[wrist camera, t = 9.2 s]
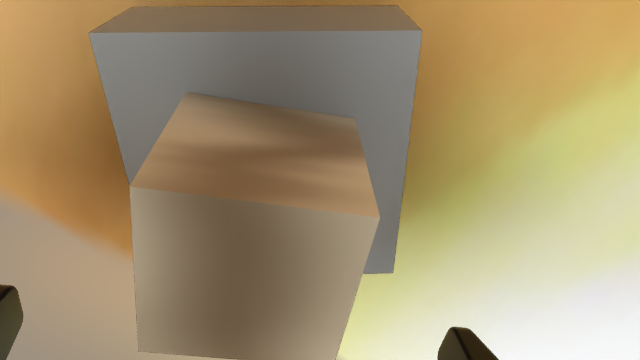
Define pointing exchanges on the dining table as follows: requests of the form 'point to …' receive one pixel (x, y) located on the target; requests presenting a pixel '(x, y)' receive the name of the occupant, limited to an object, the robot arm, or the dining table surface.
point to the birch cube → (250, 232)
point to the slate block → (270, 79)
